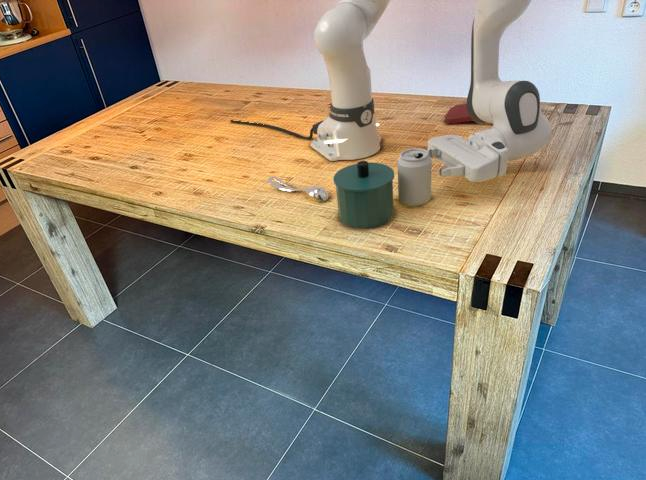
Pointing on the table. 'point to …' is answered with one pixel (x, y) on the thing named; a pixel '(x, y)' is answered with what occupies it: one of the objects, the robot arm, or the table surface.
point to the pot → (365, 207)
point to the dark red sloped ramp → (458, 114)
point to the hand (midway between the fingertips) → (429, 165)
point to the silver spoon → (314, 191)
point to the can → (414, 177)
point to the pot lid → (363, 177)
